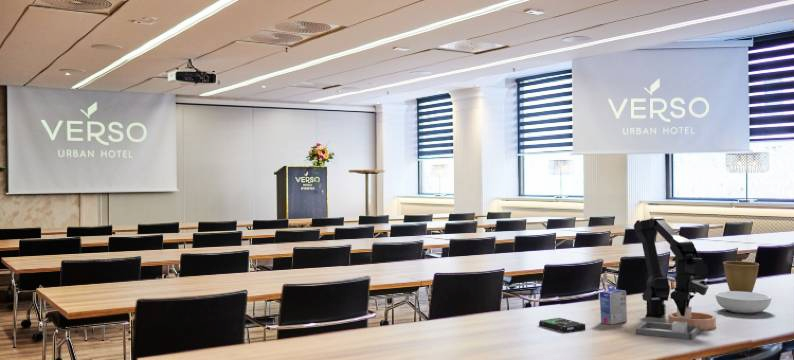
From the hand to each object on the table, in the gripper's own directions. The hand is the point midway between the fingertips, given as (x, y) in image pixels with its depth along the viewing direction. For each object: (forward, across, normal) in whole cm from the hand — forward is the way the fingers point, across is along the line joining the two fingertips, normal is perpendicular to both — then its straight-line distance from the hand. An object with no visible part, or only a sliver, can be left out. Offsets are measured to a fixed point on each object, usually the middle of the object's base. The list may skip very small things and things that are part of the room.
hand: (684, 315), depth 276 cm
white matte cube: (+1, 0, 0) cm, 1 cm away
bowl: (+4, 0, -3) cm, 4 cm away
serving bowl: (+4, +39, -16) cm, 42 cm away
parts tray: (+4, -18, +2) cm, 18 cm away
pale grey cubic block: (+4, -18, -2) cm, 18 cm away
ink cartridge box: (+4, -9, +24) cm, 26 cm away
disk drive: (+4, -28, +38) cm, 48 cm away
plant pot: (+4, +76, -11) cm, 77 cm away
